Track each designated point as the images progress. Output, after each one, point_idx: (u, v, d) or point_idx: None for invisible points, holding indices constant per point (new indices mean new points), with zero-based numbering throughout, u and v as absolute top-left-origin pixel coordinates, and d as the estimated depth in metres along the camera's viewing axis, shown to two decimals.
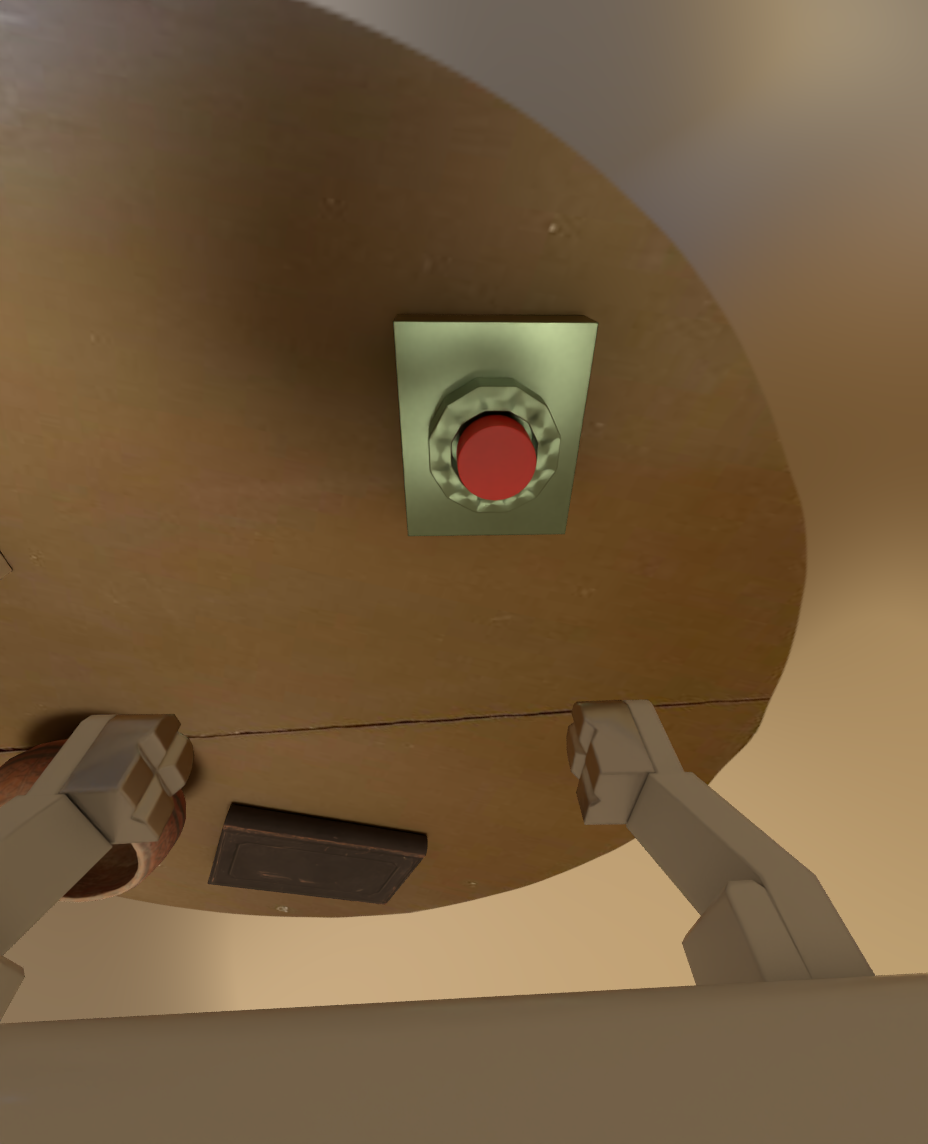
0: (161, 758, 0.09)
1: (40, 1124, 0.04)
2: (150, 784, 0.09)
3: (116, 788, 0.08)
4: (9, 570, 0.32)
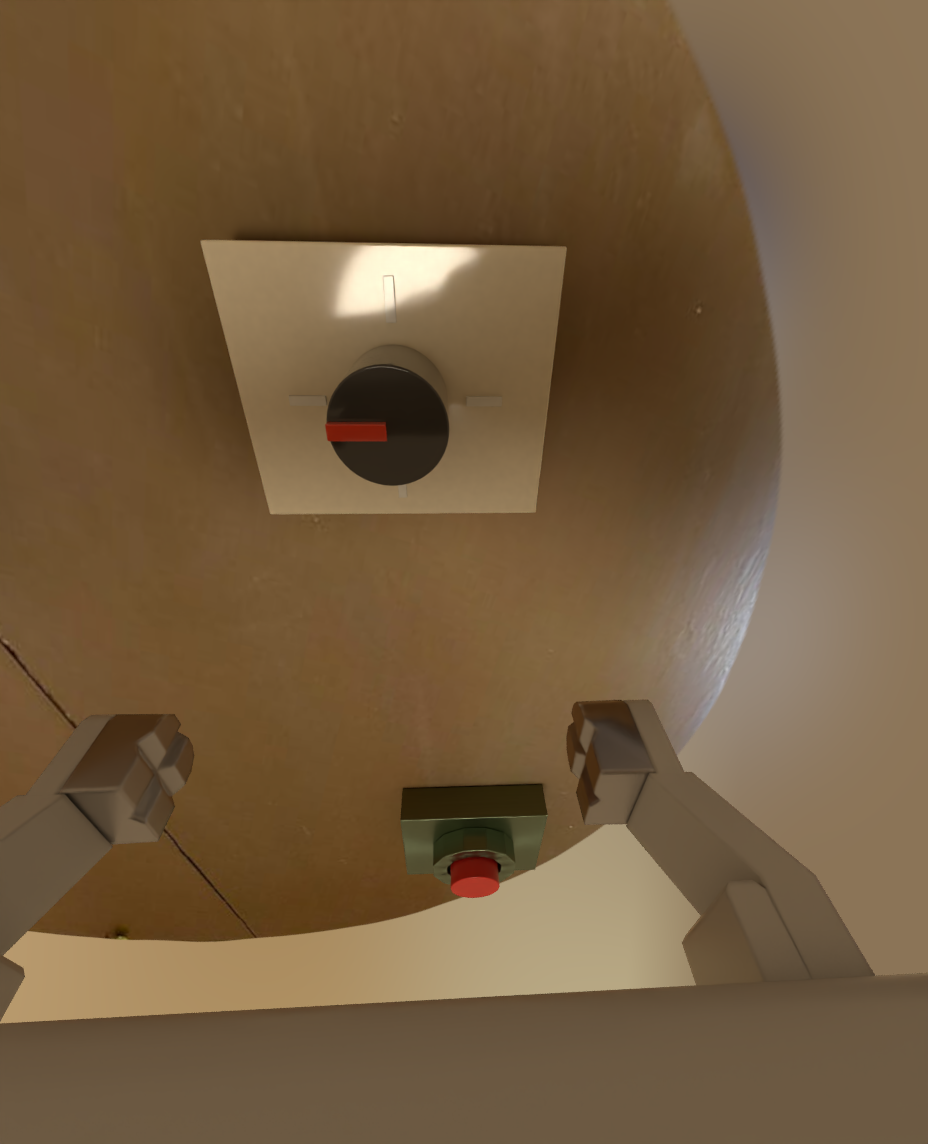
0: (161, 758, 0.09)
1: (40, 1124, 0.04)
2: (150, 784, 0.09)
3: (116, 788, 0.08)
4: None
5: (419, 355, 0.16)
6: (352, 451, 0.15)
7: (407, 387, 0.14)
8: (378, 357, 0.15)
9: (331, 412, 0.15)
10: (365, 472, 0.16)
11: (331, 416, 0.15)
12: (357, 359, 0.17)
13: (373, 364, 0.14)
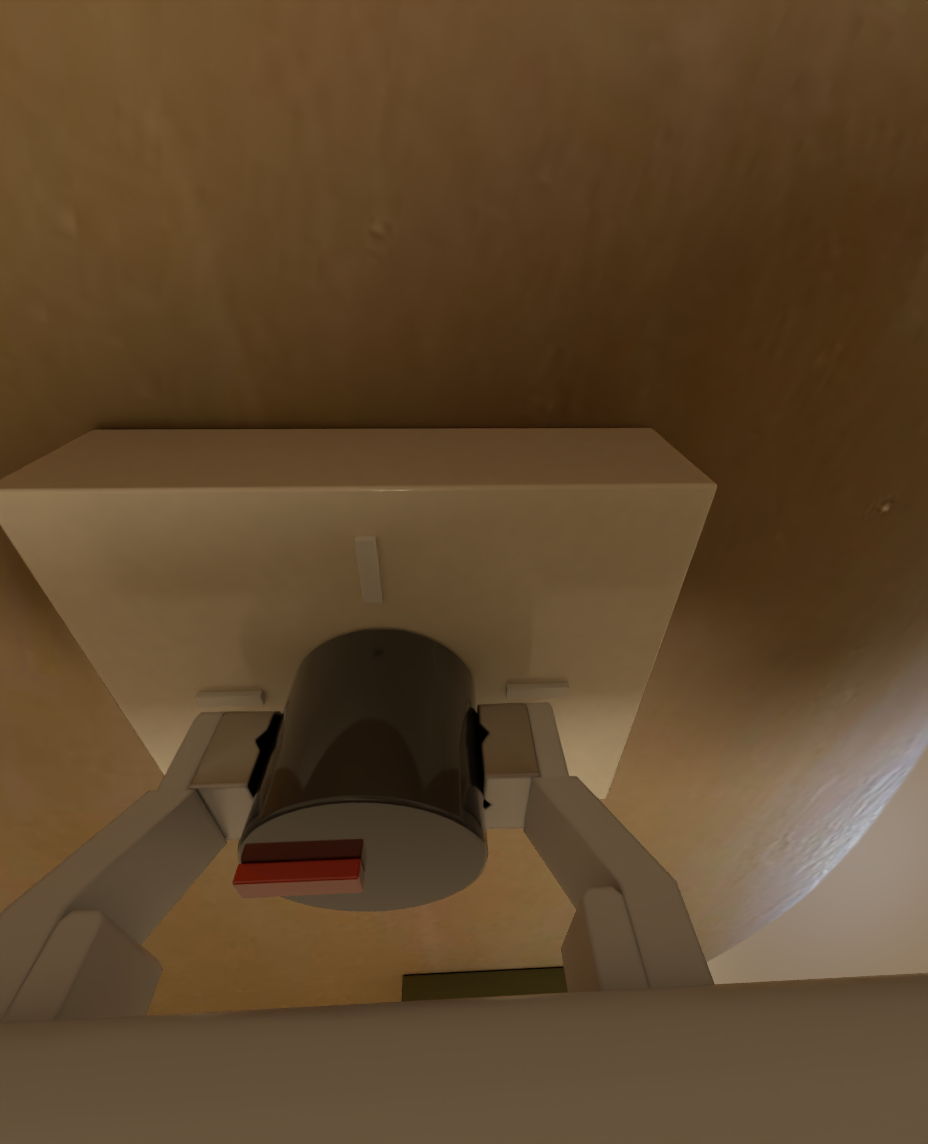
0: None
1: (40, 1123, 0.04)
2: None
3: (244, 783, 0.08)
4: None
5: (426, 660, 0.09)
6: None
7: (403, 822, 0.07)
8: (343, 732, 0.07)
9: (246, 852, 0.07)
10: (324, 903, 0.08)
11: (247, 857, 0.07)
12: (313, 651, 0.09)
13: (328, 792, 0.06)
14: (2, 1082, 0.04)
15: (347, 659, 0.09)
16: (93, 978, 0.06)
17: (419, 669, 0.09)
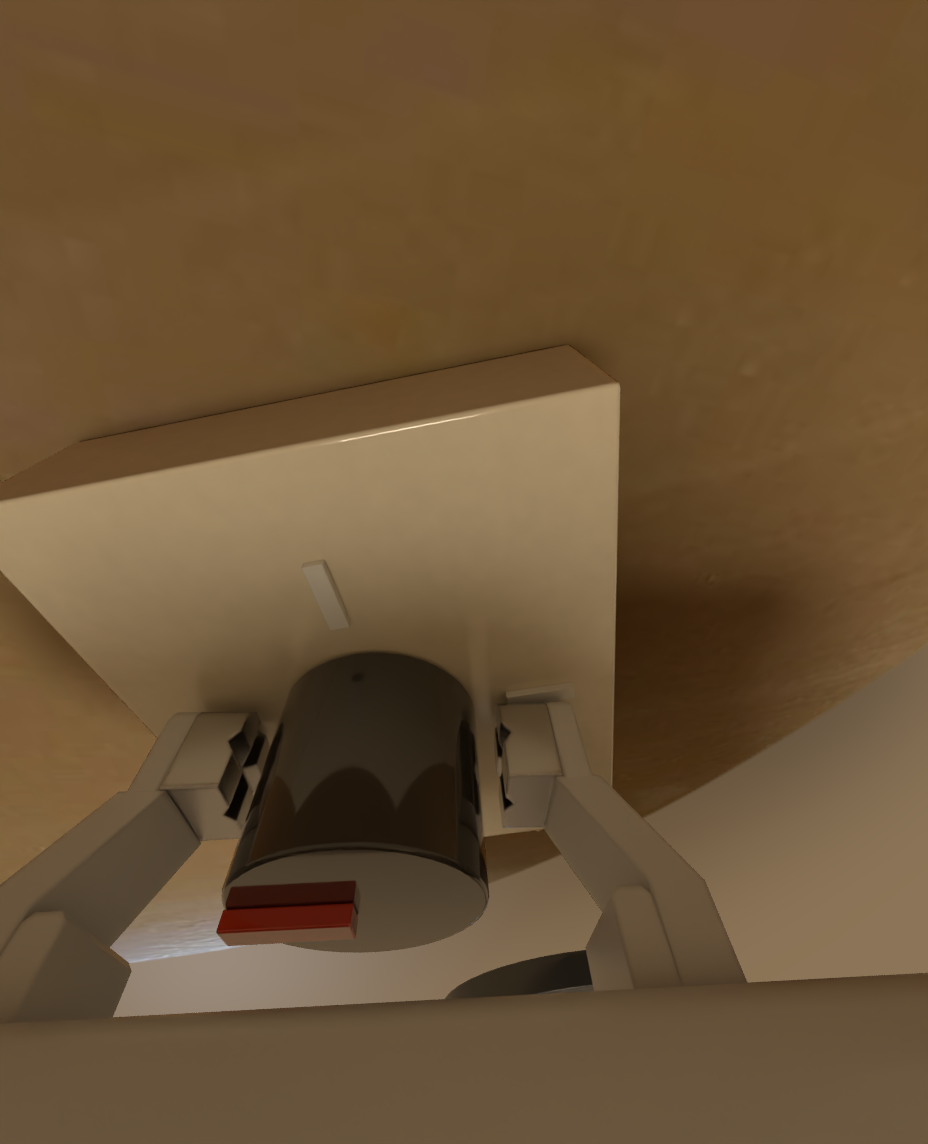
0: (246, 755, 0.09)
1: (39, 1124, 0.04)
2: None
3: (215, 784, 0.08)
4: None
5: (421, 685, 0.08)
6: None
7: (396, 867, 0.06)
8: (332, 769, 0.07)
9: (231, 898, 0.07)
10: (317, 945, 0.08)
11: (232, 903, 0.07)
12: (304, 676, 0.09)
13: (315, 838, 0.06)
14: (2, 1082, 0.04)
15: (339, 686, 0.08)
16: (54, 980, 0.06)
17: (414, 696, 0.08)
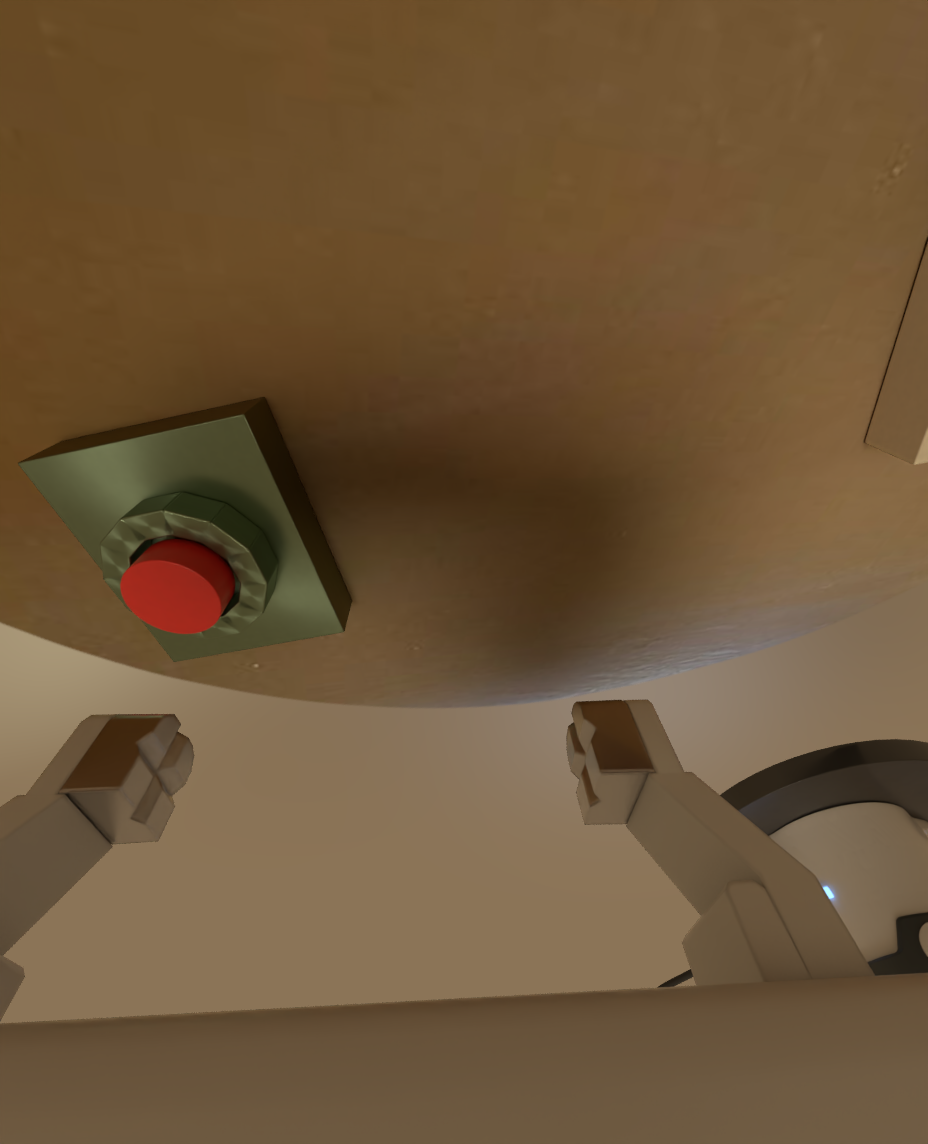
0: (161, 758, 0.09)
1: (41, 1124, 0.04)
2: (150, 784, 0.09)
3: (116, 788, 0.08)
4: None
5: None
6: None
7: None
8: None
9: None
10: None
11: None
12: None
13: None
14: (2, 1082, 0.04)
15: None
16: None
17: None
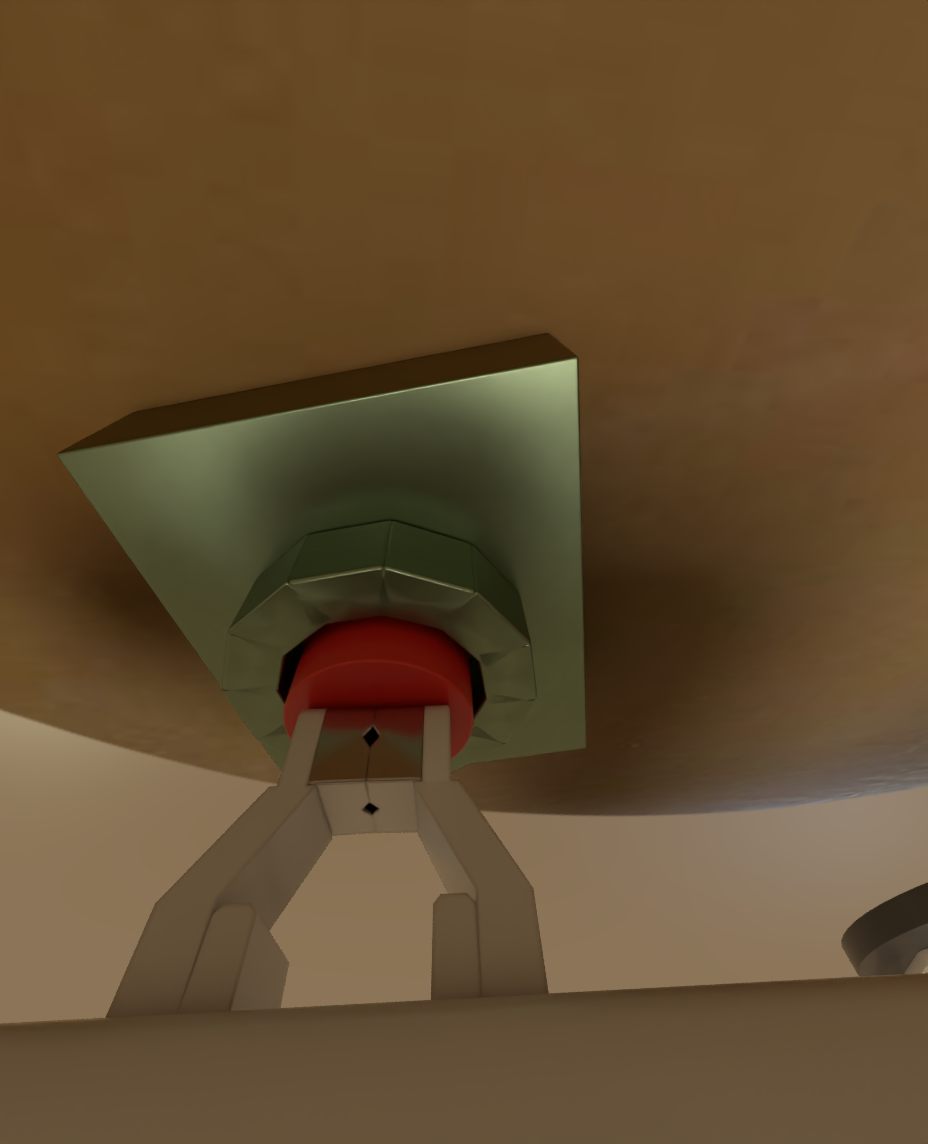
0: None
1: (40, 1123, 0.04)
2: None
3: (362, 779, 0.08)
4: None
5: None
6: None
7: None
8: None
9: None
10: None
11: None
12: None
13: None
14: (2, 1082, 0.04)
15: None
16: (251, 970, 0.06)
17: None
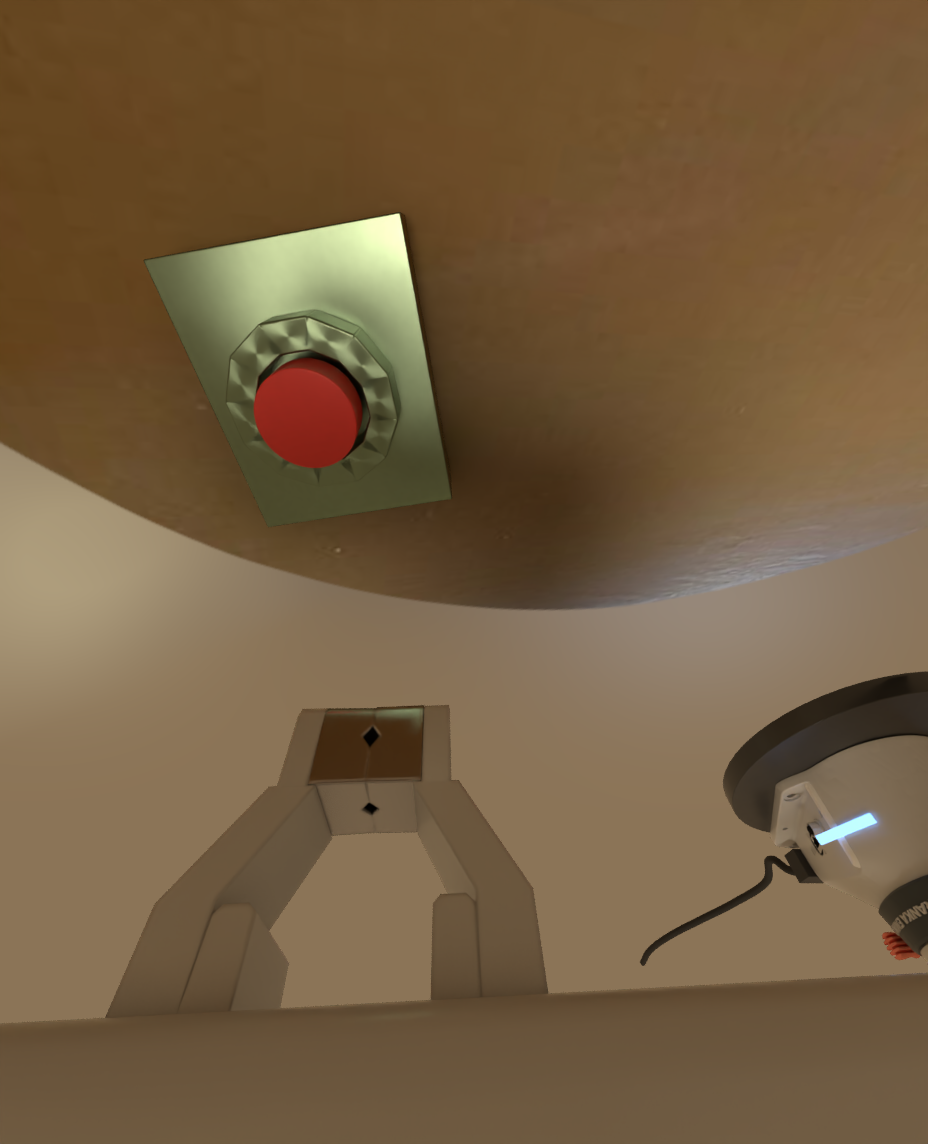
0: None
1: (40, 1124, 0.04)
2: None
3: (362, 779, 0.08)
4: None
5: None
6: None
7: None
8: None
9: None
10: None
11: None
12: None
13: None
14: (2, 1082, 0.04)
15: None
16: (251, 970, 0.06)
17: None
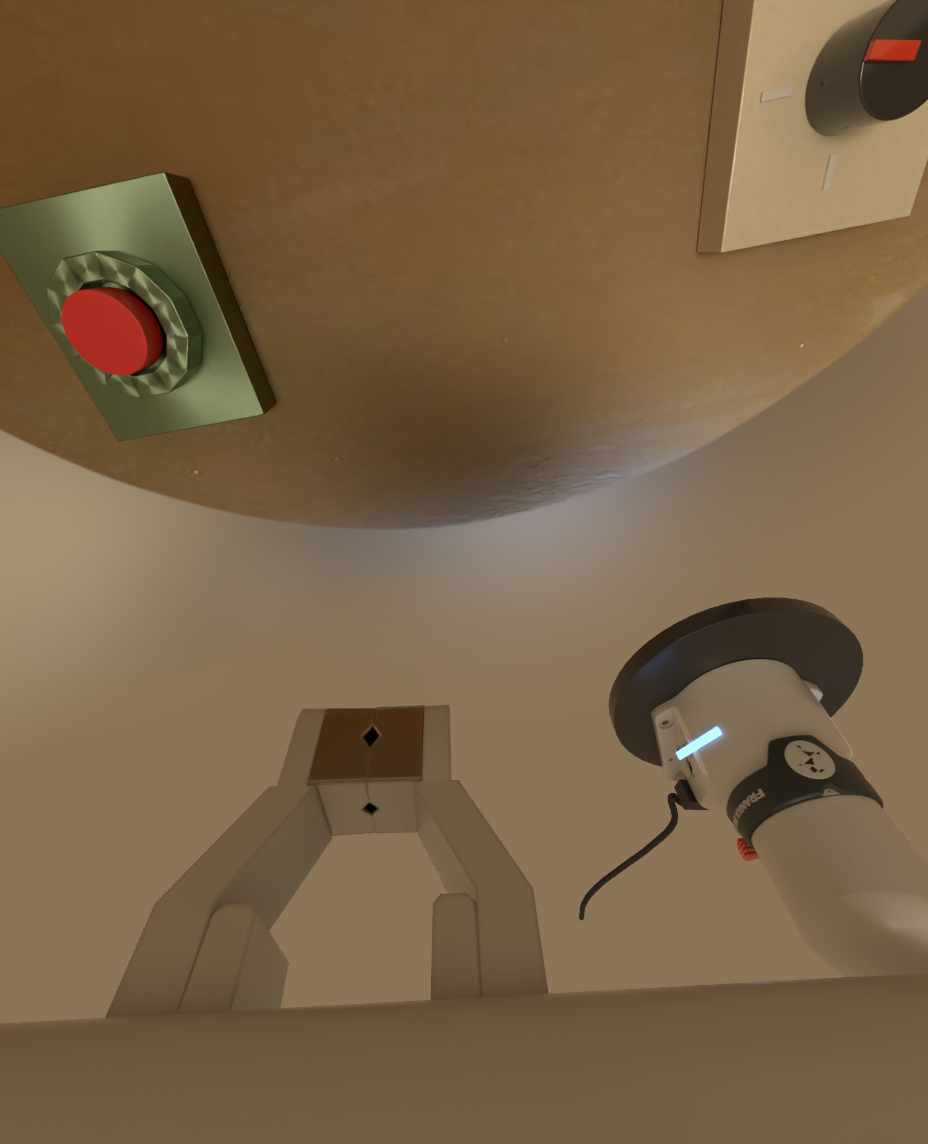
0: None
1: (40, 1123, 0.04)
2: None
3: (362, 779, 0.08)
4: None
5: None
6: (874, 77, 0.19)
7: None
8: None
9: (877, 31, 0.18)
10: (872, 103, 0.20)
11: (876, 35, 0.18)
12: (840, 28, 0.21)
13: None
14: (2, 1082, 0.04)
15: None
16: (250, 970, 0.06)
17: None
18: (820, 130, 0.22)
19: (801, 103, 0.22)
